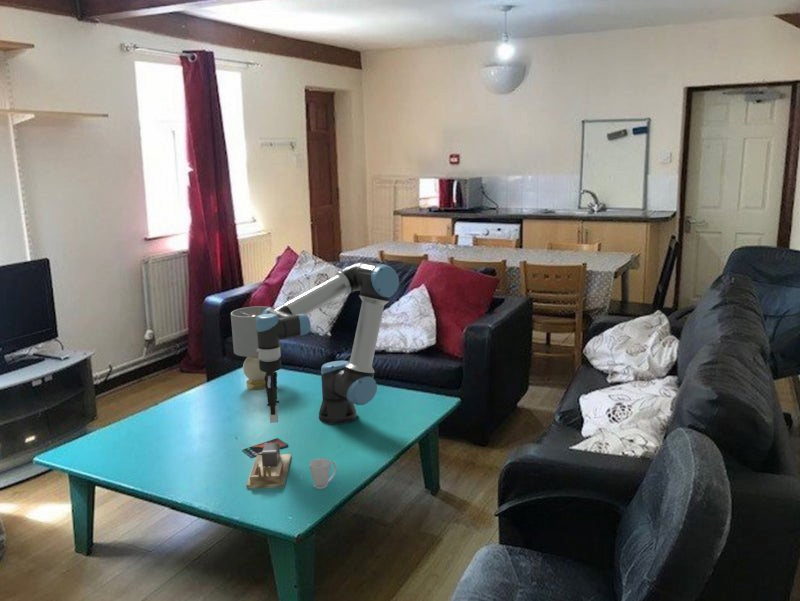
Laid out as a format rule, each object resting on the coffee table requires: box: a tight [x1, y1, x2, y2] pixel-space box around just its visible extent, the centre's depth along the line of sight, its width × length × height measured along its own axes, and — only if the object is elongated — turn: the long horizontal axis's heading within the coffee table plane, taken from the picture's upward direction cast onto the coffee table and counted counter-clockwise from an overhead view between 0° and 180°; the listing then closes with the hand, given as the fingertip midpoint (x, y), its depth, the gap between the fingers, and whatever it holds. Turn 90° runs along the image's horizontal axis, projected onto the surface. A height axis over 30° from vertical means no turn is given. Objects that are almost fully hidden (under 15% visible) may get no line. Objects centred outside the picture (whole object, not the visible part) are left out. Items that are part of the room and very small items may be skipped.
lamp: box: [230, 306, 272, 391], centre depth 315 cm, size 20×20×35 cm
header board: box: [246, 453, 292, 489], centre depth 234 cm, size 12×22×7 cm, turn 3°
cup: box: [308, 457, 337, 490], centre depth 225 cm, size 7×10×8 cm
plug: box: [262, 443, 281, 467], centre depth 239 cm, size 5×8×5 cm, turn 3°
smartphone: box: [241, 437, 289, 459], centre depth 253 cm, size 8×1×15 cm
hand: (274, 421), depth 247 cm, fingers closed
